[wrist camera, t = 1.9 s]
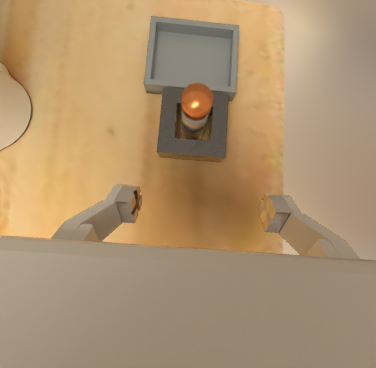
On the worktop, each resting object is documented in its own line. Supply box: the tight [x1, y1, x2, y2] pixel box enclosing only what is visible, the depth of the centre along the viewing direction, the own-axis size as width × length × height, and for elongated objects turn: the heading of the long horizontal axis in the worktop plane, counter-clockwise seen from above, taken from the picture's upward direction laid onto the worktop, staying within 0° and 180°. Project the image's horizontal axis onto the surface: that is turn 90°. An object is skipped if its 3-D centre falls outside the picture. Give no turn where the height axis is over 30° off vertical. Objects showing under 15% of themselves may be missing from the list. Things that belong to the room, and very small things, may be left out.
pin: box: [182, 83, 213, 140], centre depth 26 cm, size 4×4×10 cm
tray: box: [144, 16, 239, 101], centre depth 31 cm, size 16×13×2 cm
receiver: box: [157, 87, 229, 162], centre depth 29 cm, size 11×11×4 cm
